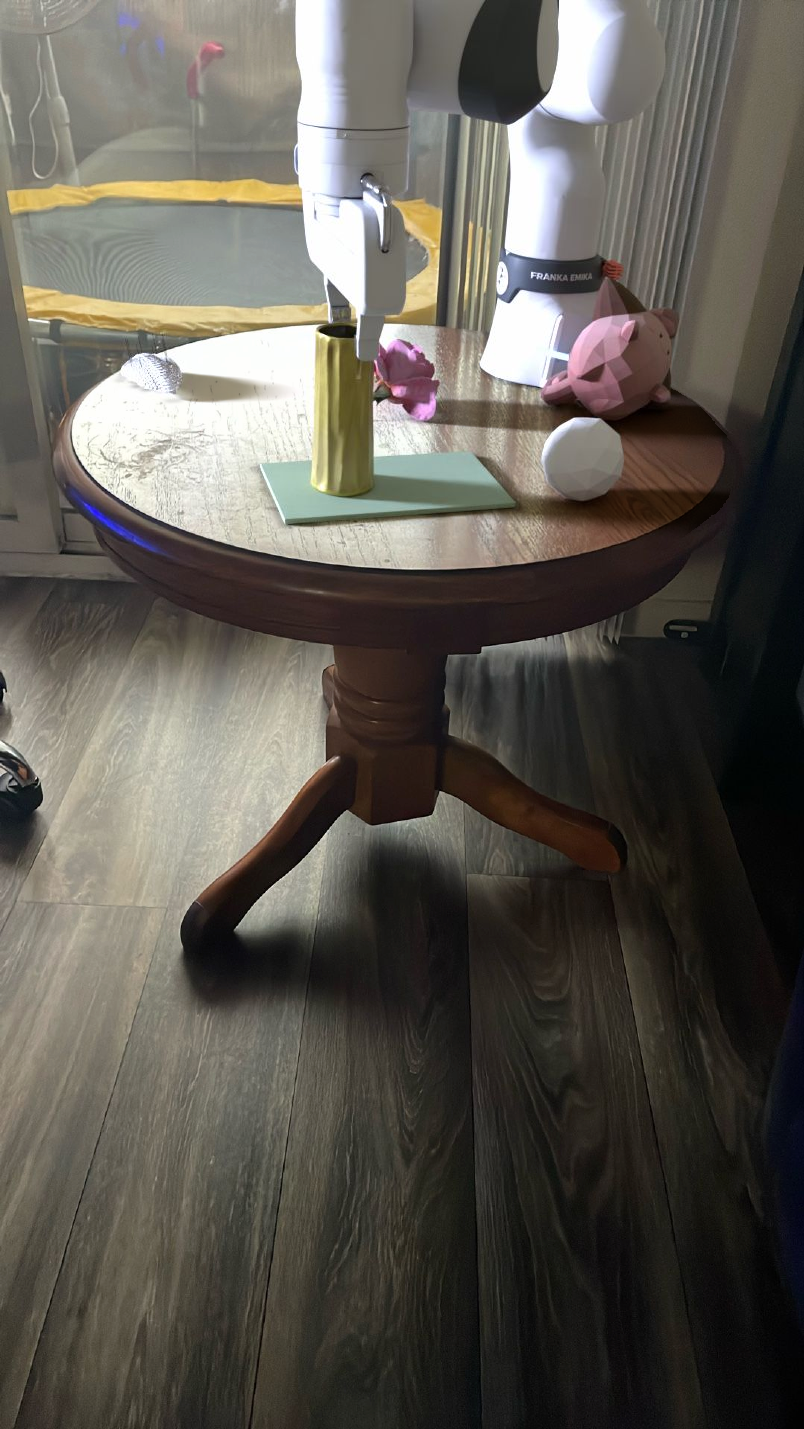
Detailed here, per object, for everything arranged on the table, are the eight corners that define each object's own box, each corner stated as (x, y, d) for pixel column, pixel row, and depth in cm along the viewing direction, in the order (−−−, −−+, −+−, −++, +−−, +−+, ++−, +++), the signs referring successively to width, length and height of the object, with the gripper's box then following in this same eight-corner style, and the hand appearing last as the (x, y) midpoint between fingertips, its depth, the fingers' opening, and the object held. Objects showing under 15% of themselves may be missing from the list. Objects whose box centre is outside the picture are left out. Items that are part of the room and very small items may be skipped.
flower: (402, 420, 124) (456, 354, 119) (406, 458, 116) (464, 390, 111) (325, 363, 119) (378, 293, 114) (324, 399, 111) (380, 325, 106)
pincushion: (198, 392, 117) (189, 342, 113) (148, 405, 114) (136, 354, 111) (159, 364, 125) (149, 317, 122) (111, 376, 123) (100, 328, 119)
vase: (356, 502, 95) (360, 344, 86) (298, 488, 96) (297, 332, 88) (385, 480, 99) (392, 328, 91) (329, 467, 101) (330, 316, 93)
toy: (598, 312, 105) (671, 242, 111) (494, 345, 117) (565, 280, 123) (661, 451, 112) (726, 378, 119) (558, 469, 125) (621, 401, 131)
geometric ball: (559, 513, 103) (560, 434, 103) (636, 504, 98) (637, 421, 99) (526, 497, 96) (527, 413, 97) (608, 487, 92) (608, 398, 92)
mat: (470, 455, 107) (470, 450, 107) (515, 507, 97) (515, 502, 96) (260, 468, 101) (259, 463, 101) (284, 524, 91) (284, 519, 91)
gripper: (431, 187, 75) (422, 377, 83) (360, 146, 90) (358, 309, 99) (346, 188, 73) (346, 382, 81) (289, 146, 89) (294, 312, 97)
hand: (352, 342), depth 90 cm, fingers open, 8 cm apart
